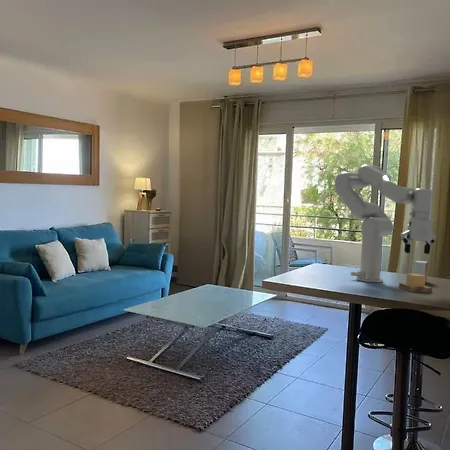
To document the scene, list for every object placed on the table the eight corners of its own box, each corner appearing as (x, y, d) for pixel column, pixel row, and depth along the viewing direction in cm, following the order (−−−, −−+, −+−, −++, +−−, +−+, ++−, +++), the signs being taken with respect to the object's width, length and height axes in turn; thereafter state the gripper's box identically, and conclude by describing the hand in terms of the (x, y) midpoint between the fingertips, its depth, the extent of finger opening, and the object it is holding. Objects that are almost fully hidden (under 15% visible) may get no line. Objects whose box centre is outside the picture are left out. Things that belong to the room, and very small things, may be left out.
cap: (413, 286, 204) (414, 275, 204) (406, 284, 210) (407, 273, 209) (424, 286, 205) (425, 276, 205) (417, 284, 211) (418, 273, 210)
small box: (424, 283, 226) (426, 262, 226) (412, 282, 229) (414, 261, 228) (426, 281, 233) (428, 261, 232) (415, 280, 236) (416, 260, 235)
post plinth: (411, 292, 202) (412, 280, 202) (399, 287, 212) (399, 276, 211) (431, 292, 204) (432, 281, 203) (418, 287, 213) (419, 277, 213)
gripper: (407, 215, 201) (404, 253, 202) (443, 217, 203) (439, 255, 205) (398, 214, 208) (395, 251, 209) (432, 216, 211) (429, 252, 212)
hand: (416, 253), depth 207 cm, fingers open, 9 cm apart
